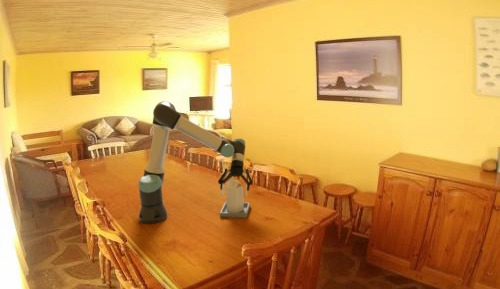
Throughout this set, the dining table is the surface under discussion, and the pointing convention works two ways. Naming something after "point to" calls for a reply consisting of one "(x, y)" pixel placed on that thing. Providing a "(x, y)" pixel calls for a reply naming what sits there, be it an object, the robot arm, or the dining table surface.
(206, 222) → the dining table surface
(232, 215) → the gray square tray
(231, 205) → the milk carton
